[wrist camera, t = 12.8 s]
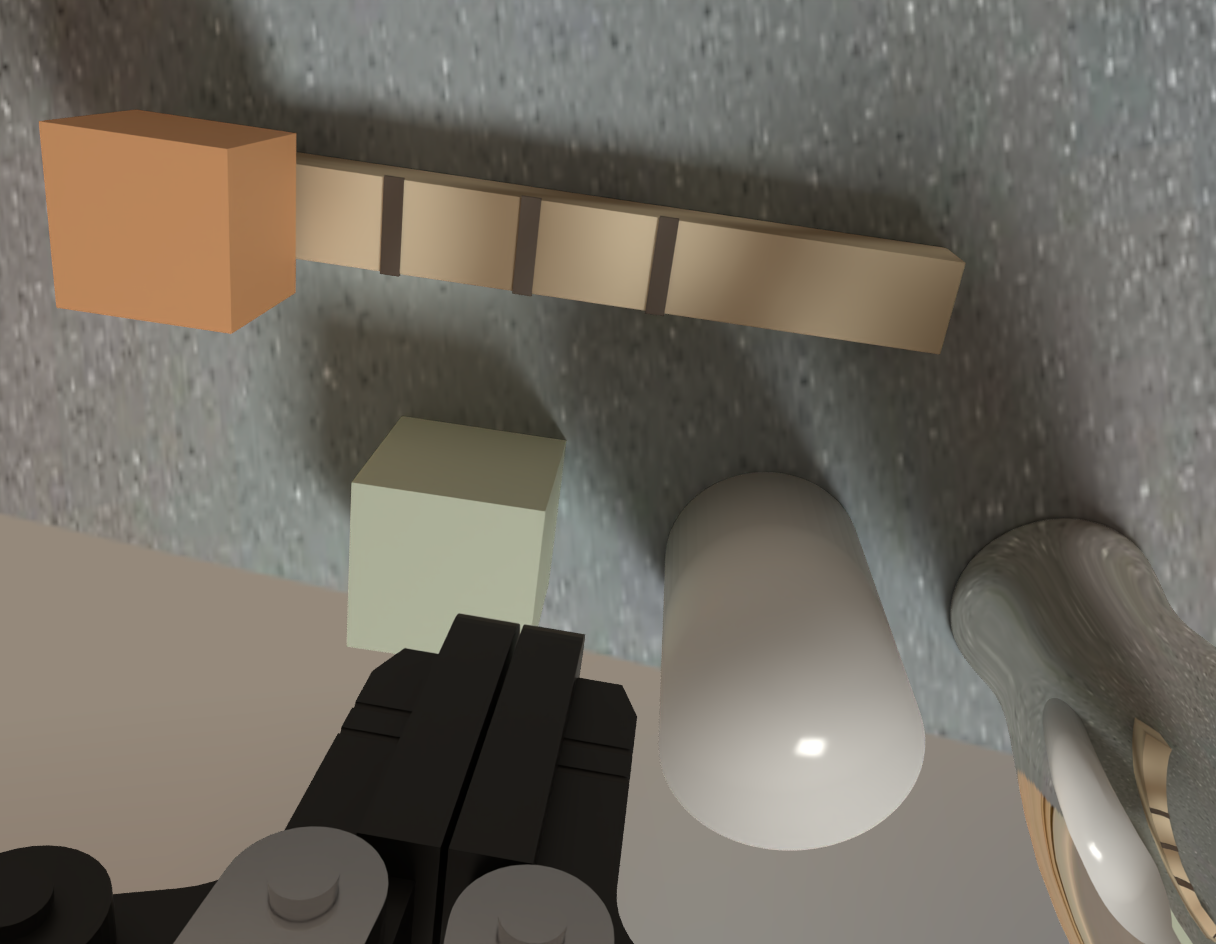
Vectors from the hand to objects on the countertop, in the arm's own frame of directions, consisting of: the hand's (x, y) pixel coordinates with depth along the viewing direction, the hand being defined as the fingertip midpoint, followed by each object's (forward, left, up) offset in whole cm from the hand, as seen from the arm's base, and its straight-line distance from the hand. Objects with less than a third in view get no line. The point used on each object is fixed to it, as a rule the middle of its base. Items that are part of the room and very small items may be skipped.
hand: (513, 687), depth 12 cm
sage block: (+3, +7, -18) cm, 19 cm away
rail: (+2, -2, -18) cm, 18 cm away
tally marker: (+10, -2, -15) cm, 19 cm away
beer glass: (-15, +7, -18) cm, 24 cm away
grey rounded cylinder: (-6, +7, -18) cm, 20 cm away
